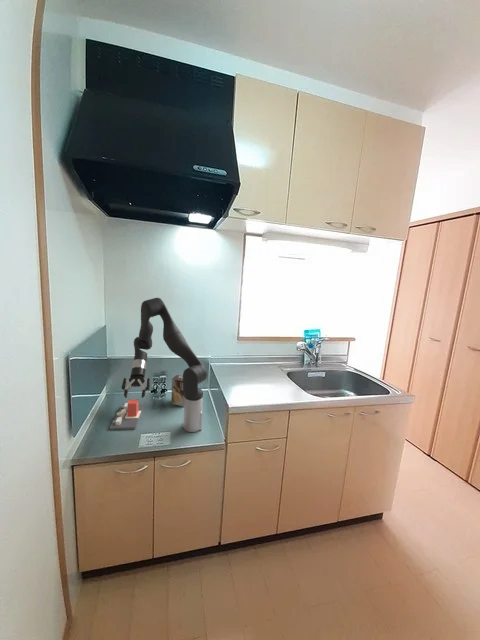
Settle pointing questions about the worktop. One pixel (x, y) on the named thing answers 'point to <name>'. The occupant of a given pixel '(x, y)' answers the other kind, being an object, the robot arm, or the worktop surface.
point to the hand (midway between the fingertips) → (134, 397)
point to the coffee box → (177, 390)
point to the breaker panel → (126, 418)
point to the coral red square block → (132, 407)
